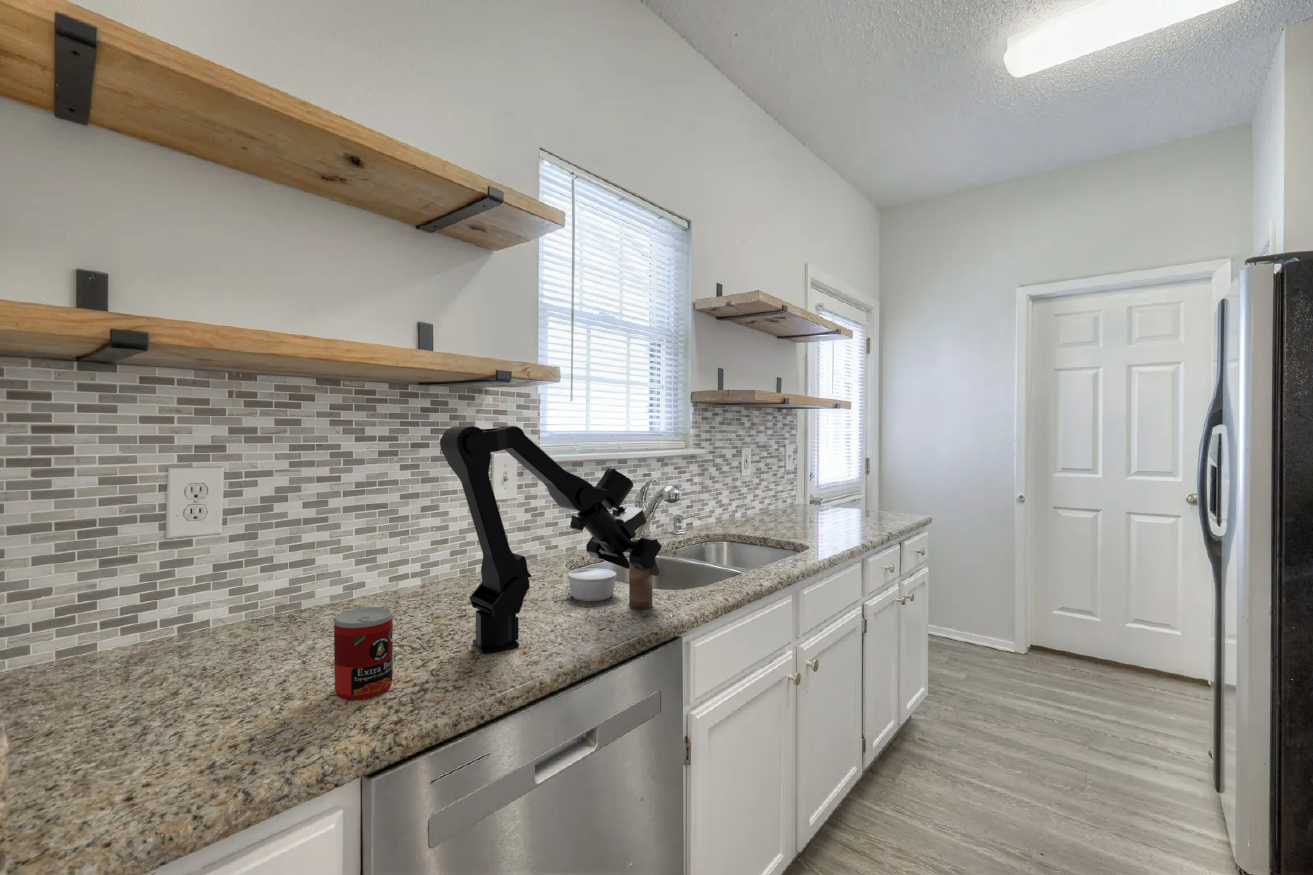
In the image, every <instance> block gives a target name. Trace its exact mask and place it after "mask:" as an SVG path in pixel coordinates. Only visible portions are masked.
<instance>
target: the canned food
mask: <svg viewBox="0 0 1313 875" xmlns="http://www.w3.org/2000/svg"><path fill="white" fill-rule="evenodd" d="M393 623H394V622H393V611H392V609H389V608H385V607H379V606H378V607H374V606H373V607H371V606H370V607H361V608H355V609H354V608H353V609H349V610H346V611H344V612H342V613H339V614H337V615H336V616H335V618H334V623H333V625H334V626H333V628H334V629H333V638H334V640H333V642H334V643H333V644H334V645H333V646H334V647H333V649H334V650H333V652H334V654H333V656H334V658H333V659H334V661H333V662H334V667H333V668H334V670H333V671H334V691H335V694H336V696H337V697H338V698H339V699H342V700H344V699H345V701H351V700H357V701H364V700H363V699H365V700H369V699H368V698H370V699H372V698H371V697H373V698H375V697H374V696H376V697H378V695H379V696H381V695H382V693H383V692H385V691H386V692H387V691H389V690H390V688H391V686H392V683H393V679H394V678H393V676H394V675H393V674H394V672H393V660H394V659H393V651H394V648H393V647H394V645H393V642H394V641H393V640H394V637H393V636H394V633H393V632H394V630H393V629H394V626H393V625H394V624H393ZM386 692H385V693H386ZM380 694H381V695H380ZM383 694H384V693H383Z"/></svg>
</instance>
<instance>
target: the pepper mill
mask: <svg viewBox="0 0 1313 875" xmlns="http://www.w3.org/2000/svg"><path fill="white" fill-rule="evenodd" d="M640 538H641V537H636V538H635V537H634V538H633V539H634V540H633V541H634V542H638V541H639V540H640ZM629 563H630V562H629ZM653 580H654V576H653V575H651V574H649V573H646V572H644V571H641V570H639V569H636V568H635V566H634V565H632V564H631V563H630V568H629V581H628V582H629V584H628V587H629V590H628V591H629V596H628V597H629V599H628V600H629V602H628V604H629V605H628V606H629V608H630V609H632V610H638V611H639V610H640V611H642V610H643V611H646V610H650V609H652V608H653V595H654V594H653V583H654V582H653ZM645 609H646V610H645Z"/></svg>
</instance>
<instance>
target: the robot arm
mask: <svg viewBox="0 0 1313 875" xmlns="http://www.w3.org/2000/svg"><path fill="white" fill-rule="evenodd" d="M439 445H440V449H441V453H442V454H443V456H444V458H445V460H446V462H447V464H448V466H449V467H450V468H451V469H452V471H453V472H454V474H455V475H456V476H457V478H458V479H459V480H460V483H461V486H462V490H463V492H464V497H465V499H466V503H467V505H468V509H469V512H470V515H471V519H472V522H473V523H472V524H473V526H474V529H475V533H476V536H477V538H478V539H477V540H478V542H479V543H478V544H479V545H480V550H481V552H482V560H481V561H482V562H481V566H480V573H481V575H480V576H481V583H479V585H478V586H477V588H476V589H475V590H474V591H473V592H472V593H471V595H470V596H469V602H470V604H471V608H473V609H476V610H475V639H472V644H473V645H474V646H475V647H476V648H477V649H478V651H480V652H481V653H482V654H489V653H494V652H500V651H504V650H509V649H513V648H518V647H520V643H519V642H518V641H519V632H520V631H519V620H520V619H519V616H517V614H520V612H521V609H522V606H523V603H524V599H525V596H526V595H527V592H529V591H528V590H530V585H531V584H530V578H532V574H530V572H529V570H528V563H527V559H526V556H524V555H521V554H519V553H515V552H513V551H512V549H511V548H510V544H509V541H508V537H507V533H506V530H505V527H504V526H505V525H504V522H503V519H502V516H501V512H500V509H499V506H498V502H497V498H496V496H495V493H494V489H493V485H492V481H491V477H490V473H489V472H490V467H491V461H492V453H495V452H499V451H500V452H501V451H504V450H505V452H506V453H508V454H509V455H510V456H511V457H512V458H513V459H515V460H516V461H517V462H518V463H520V465H522V466H523V467H524V468H526V470H528V471H529V472H530V473H531V474H532V475H534V476H535V477H536V478H537V479H538V480H539V481H540V482H542V484H544V486H545V487H546V488H547V491H548V494H549V496H550V497H551V498H552V500H554V502H555V503H556V504H557V506H559V507H560V508H562V509H566V510H572V511H577V513H576V514H575V515H571V521H570V525H569V528H570V529H572V530H577V531H583V530H584V529H585V530H587V532H588V533H589V534H590V535H591V537H590V539H589V541H588V542H587V543H586V546H585V547H586V550H585V551H586V552H587V553H588V554H589V555H590V556H591V557H595V558H596V559H598V560H601V561H605V562H607V563H610V564H613V565H615V566H618V567H621V568H622V569H623V568H624V569H627V570H630V563H631V564H632V565H634V566H635V568H636V569H639V570H641V571H644V572H646V573H649V574H651V575H653V577H658V576H659V575H660V570H659V567H658V563H657V560H656V557H657V556H658V554H659V553H660V551H661V549H662V544H661V542H660V541H659V540H658V539H657V538H652V537H647V536H643V537H639V538H640V540H639V541H638V542H634V540H632V539H635V537H636V535H637V533H636V532H635V531H636V530H638V529H639V528H640V527H642V526H643V525H646V523H647V522H648V521H647V519H646V515H645V513H644V511H643V508H641V507H636V506H629V507H627V506H625V507H623V506H621V505H622V504H623V502H624V501H625V500H626V498H627V496H628V495H629V494H630V492H631V491H632V489H633V488H634V483H633V481H632V480H631V478H629V477H627V476H626V475H624V474H623V473H622V472H619V471H617V469H616V468H614V467H607V468H606V470H605V471H604V473H603V475H602V477H601V478H600V480H598V481H597V483H596V485H593V484H592V483H591V482H588V481H587V480H585V479H584V478H582V477H580V476H579V475H576V474H573V473H572V472H569V471H567V470H565V469H564V468H563V467H562V466H561V465H560V464H558V463H557V461H555V460H554V459H553V458H552V457H550V455H548V453H546V452H545V451H544V450H543V449H542V448H541V447H539V446H538V445H537V444H536V443H535V442H534V441H533V440H532V439H531V438H530V437H529V436H527V434H525V432H524V431H523V429H522V428H520V427H519V426H517V425H503V426H499V427H493V428H480V427H478V426H474V425H473V426H470V425H468V426H467V425H466V426H463V425H457V426H451V427H450V428H447V429H446V430H445V431H444V432H443V434H442V436H441V437H440V439H439ZM609 510H612V513H611V512H610V511H609ZM624 553H629V556H628V557H629V560H628V558H627V557H626V556H625V554H624Z"/></svg>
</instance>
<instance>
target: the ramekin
mask: <svg viewBox="0 0 1313 875" xmlns="http://www.w3.org/2000/svg"><path fill="white" fill-rule="evenodd" d="M617 576H618V575H617V572H616V571H614V570H611V569H608V568H607V569H606V568H583V569H582V568H580V569H577V570H576V569H575V570H572V571H570V572H568V574H567V579H568V582H569V590H570V596H572V598H573V599H575V600H578V601H581V602H583V601H584V602H598V601H605V600H608V599H609V598H611V597H612V596H613V594H614V592H615V586H616V579H617Z"/></svg>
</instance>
